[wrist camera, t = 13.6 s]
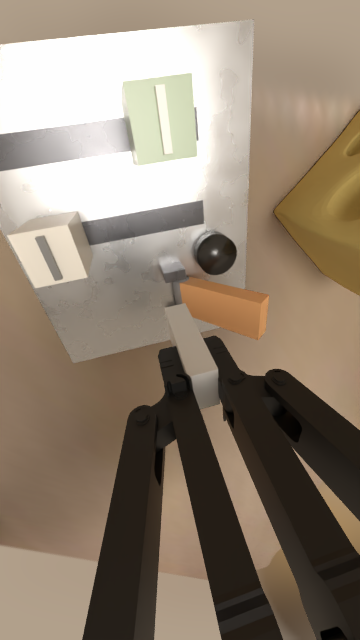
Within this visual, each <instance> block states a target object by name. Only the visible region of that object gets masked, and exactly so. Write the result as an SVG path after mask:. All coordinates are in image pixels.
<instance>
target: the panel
mask: <svg viewBox="0 0 360 640" xmlns="http://www.w3.org/2000/svg"><path fill="white" fill-rule="evenodd" d="M253 38H254V19H252V20H242V21H233V22H222V23H214V24H213V23H212V24H202V25H193V26H182V27H173V28H162V29H152V30H142V31H133V32H122V33H112V34H102V35H92V36H81V37H71V38H61V39H51V40H41V41H31V42H21V43H11V44H1V45H0V229H1V231H2V233H3V235H4V237H5V238H6V240H7V242H8V244H9V246H10V248H11V250H12V251H13V253H14V255H15V257H16V259H17V261H18V262H19V264H20V266H21V268H22V270H23V272H24V273H25V275H26V277H27V279H28V281H29V283H30V284H31V286H32V288H33V290H34V292H35V294H36V295H37V297H38V299H39V301H40V303H41V305H42V307H43V308H44V310H45V312H46V314H47V316H48V318H49V319H50V321H51V323H52V325H53V327H54V329H55V330H56V332H57V334H58V336H59V338H60V340H61V341H62V343H63V345H64V347H65V349H66V351H67V352H68V354H69V356H70V358H71V360H72V362H73V363H77V362H81V361H85V360H90V359H94V358H98V357H102V356H106V355H110V354H114V353H118V352H122V351H127V350H131V349H135V348H139V347H143V346H147V345H151V344H155V343H159V342H163V341H168V340H171V339H170V334H169V329H168V324H167V319H166V313H165V308H166V307H170V306H175V305H176V301H175V295H174V289H173V283H172V282H175V281H179V280H184V279H186V275H187V276H189V277H193V278H198V279H202V280H206V281H211V282H215V283H219V284H224V285H228V286H232V287H237V288H241V289H245V276H246V247H247V217H248V187H249V157H250V127H251V98H252V68H253ZM185 73H192V82H193V97H194V111H195V125H196V139H197V154H198V157H192V158H186V159H180V160H174V161H167V162H161V163H155V164H149V165H143V166H136V165H134V164H133V159H132V154H131V149H130V144H129V139H128V134H127V129H126V124H125V119H124V114H123V109H122V104H121V92H122V81H127V80H135V79H143V78H152V77H160V76H168V75H176V74H185ZM76 211H78V214H79V217H80V220H81V223H82V225H83V228H84V231H85V234H86V237H87V240H88V243H89V245H90V248H91V251H92V254H93V258H92V262H91V266H90V270H89V274H88V278H83V279H78V280H73V281H68V282H63V283H59V284H54V285H49V286H44V287H39V288H35V287H34V285H33V283H32V282H31V280H30V278H29V276H28V274H27V272H26V270H25V269H24V267H23V265H22V263H21V261H20V259H19V257H18V255H17V254H16V252H15V250H14V248H13V246H12V244H11V242H10V241H9V239H8V237H7V235H8V234H10V233H11V232H13V231H14V230H16V229H17V228H19V227H20V226H22V225H23V224H24V223H26V222H27V221H29V220H31V219H36V218H42V217H48V216H53V215H59V214H65V213H70V212H76ZM192 318H193V317H192ZM193 320H194V322H195V324H196V326H197V328H198V330H199V332H204V331H209V330H213V329H217V328H221V327H219V326H216V325H213V324H210V323H207V322H205V321H202V320H199V319H196V318H193Z"/></svg>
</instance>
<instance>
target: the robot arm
mask: <svg viewBox="0 0 360 640" xmlns="http://www.w3.org/2000/svg"><path fill="white" fill-rule="evenodd" d="M165 313H166V319H167V324H168V329H169V334H170V339H171V342H172V345H173V347H169V348H165V349H161V350H160V352H159V355H158V358H159V363H160V367H161V372H162V376H163V381H164V387H165V395H164V396H163V398H162V399H161V400H160V401H159V402H158V403H157V404H155V405H153V406H152V407H150V406H147V405H143V406H139V407H137V408H135V409H134V410H133V411H132V412H131V413H130V415H129V417H128V421H127V425H126V430H125V435H124V440H123V445H122V450H121V455H120V459H119V464H118V469H117V474H116V479H115V484H114V489H113V493H112V498H111V503H110V508H109V513H108V518H107V522H106V527H105V532H104V537H103V542H102V547H101V552H100V556H99V561H98V566H97V572H96V576H95V581H94V586H93V590H92V595H91V600H90V605H89V610H88V615H87V619H86V625H85V629H84V635H83V639H82V640H154V630H155V613H156V597H157V596H156V595H157V580H158V563H159V546H160V530H161V513H162V496H163V479H164V463H165V446H167V445H168V444H170V443H171V442H172V441H174V440H175V439H177V443H178V448H179V452H180V457H181V461H182V465H183V470H184V474H185V479H186V483H187V487H188V492H189V496H190V501H191V505H192V510H193V514H194V518H195V523H196V527H197V532H198V536H199V540H200V545H201V549H202V554H203V558H204V563H205V567H206V571H207V576H208V580H209V584H210V589H211V593H212V597H213V602H214V607H215V611H216V616H217V620H218V625H219V630H220V634H221V639H222V640H283V638H282V635H281V632H280V629H279V627H278V624H277V621H276V619H275V616H274V613H273V611H272V609H271V606H270V604H269V602H268V600H267V598H266V596H265V594H264V592H263V589H262V587H261V584H260V581H259V578H258V575H257V573H256V570H255V567H254V564H253V561H252V558H251V555H250V552H249V549H248V547H247V544H246V541H245V538H244V535H243V532H242V529H241V526H240V524H239V521H238V518H237V515H236V512H235V509H234V506H233V503H232V501H231V498H230V495H229V492H228V489H227V486H226V483H225V480H224V478H223V475H222V472H221V469H220V466H219V463H218V460H217V457H216V455H215V452H214V449H213V446H212V443H211V440H210V437H209V434H208V432H207V429H206V426H205V423H204V420H203V417H202V414H201V411H200V409H203V408H207V407H211V406H214V405H218V404H220V400H221V403H222V405H223V419H224V421H226V420H227V422H228V424H229V427H230V429H231V431H232V434H233V436H234V438H235V441H236V443H237V445H238V448H239V450H240V452H241V455H242V457H243V459H244V462H245V464H246V466H247V469H248V471H249V473H250V475H251V478H252V480H253V482H254V485H255V487H256V489H257V492H258V494H259V496H260V499H261V501H262V503H263V506H264V508H265V510H266V513H267V515H268V517H269V520H270V522H271V524H272V527H273V529H274V531H275V534H276V536H277V538H278V541H279V543H280V545H281V548H282V550H283V552H284V554H285V557H286V559H287V561H288V564H289V566H290V568H291V571H292V573H293V575H294V578H295V580H296V583H297V585H298V588H299V592H300V596H301V600H302V603H303V606H304V609H305V612H306V614H307V617H308V620H309V622H310V624H311V627H312V629H313V631H314V634H315V636H316V638H317V640H360V555H359V554H358V553H357V551H356V550H355V549H354V547H353V546H352V544H351V543H350V541H349V539H348V538H347V536H346V534H345V533H344V531H343V530H342V528H341V526H340V525H339V523H338V521H337V520H336V518H335V517H334V515H333V513H332V512H331V510H330V509H329V507H328V505H327V504H326V502H325V500H324V499H323V497H322V496H321V494H320V492H319V491H318V489H317V487H316V486H315V484H314V483H313V481H312V479H311V478H310V476H309V474H308V473H307V471H306V470H305V468H304V466H303V465H302V463H301V462H300V460H299V458H298V457H297V455H296V453H295V452H294V450H295V451H296V452H297V453H298V454H299V455H300V456H301V457H302V458H303V460H304V461H305V462H306V463H307V464H308V465H309V466H310V467H311V468H312V469H313V471H314V472H315V473H316V474H317V475H318V476H319V477H320V478H321V479H322V480H323V481H324V482H325V484H326V485H327V486H328V487H329V488H330V489H331V490H332V491H333V492H334V493H335V495H336V496H337V497H338V498H339V499H340V500H341V501H342V502H343V503H344V504H345V505H346V507H347V508H348V509H349V510H350V511H351V512H352V513H353V514H354V515H355V516H356V518H357V519H358V520H359V521H360V430H359V429H357V428H356V427H355V426H354V425H352V424H351V423H350V422H349V421H348V420H346V419H345V418H344V417H343V416H341V415H340V414H339V413H338V412H336V411H335V410H334V409H333V408H331V407H330V406H329V405H328V404H327V403H325V402H324V401H323V400H322V399H320V398H319V397H318V396H317V395H315V394H314V393H313V392H312V391H310V390H309V389H308V388H307V387H305V386H304V385H303V384H302V383H301V382H299V381H298V380H297V379H296V378H294V377H293V376H292V375H291V374H289V373H288V372H286V371H284V370H281V369H272V370H269V371H268V372H267V373H266V375H265V376H251V375H247V374H246V373H245V372H243V371H241V370H240V369H239V368H238V367H237V365H236V363H235V362H234V360H233V358H232V357H231V355H230V353H229V352H228V350H227V348H226V347H225V345H224V343H223V342H222V340H221V339H220V338H218V337H217V336H212V337H208V338H204V339H203V338H202V336H201V334H200V332H199V330H198V328H197V326H196V324H195V322H194V320H193V318H192V316H191V314H190V312H189V310H188V308H187V306H186V304H185V303H183V304H179V305H175V306H170V307H166V308H165ZM291 446H292V447H291ZM292 448H293V449H294V450H293V449H292Z"/></svg>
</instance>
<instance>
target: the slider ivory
mask: <svg viewBox="0 0 360 640" xmlns="http://www.w3.org/2000/svg"><path fill="white" fill-rule="evenodd" d="M7 237H8V239H9V241H10V242H11V244H12V246H13V248H14V250H15V252H16V254H17V255H18V257H19V259H20V261H21V263H22V265H23V267H24V269H25V270H26V272H27V274H28V276H29V278H30V280H31V282H32V283H33V285H34V287H35V288H39V287H44V286H49V285H54V284H59V283H63V282H68V281H73V280H78V279H83V278H88V274H89V270H90V266H91V262H92V258H93V254H92V251H91V248H90V245H89V243H88V240H87V237H86V234H85V231H84V228H83V225H82V223H81V220H80V217H79V214H78V211H76V212H70V213H65V214H59V215H53V216H48V217H42V218H36V219H31V220H29V221H27V222H26V223H24V224H23V225H22V226H20V227H19V228H17V229H16V230H14V231H13V232H11V233H10V234H8V235H7Z"/></svg>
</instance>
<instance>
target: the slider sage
mask: <svg viewBox="0 0 360 640" xmlns="http://www.w3.org/2000/svg"><path fill="white" fill-rule="evenodd" d="M121 104H122V109H123V114H124V119H125V124H126V129H127V134H128V139H129V144H130V149H131V154H132V159H133V164H134V165H136V166H143V165H149V164H155V163H161V162H167V161H174V160H180V159H186V158H192V157H198V154H197V139H196V125H195V111H194V97H193V82H192V73H185V74H176V75H168V76H160V77H152V78H143V79H135V80H127V81H122V92H121Z"/></svg>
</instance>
